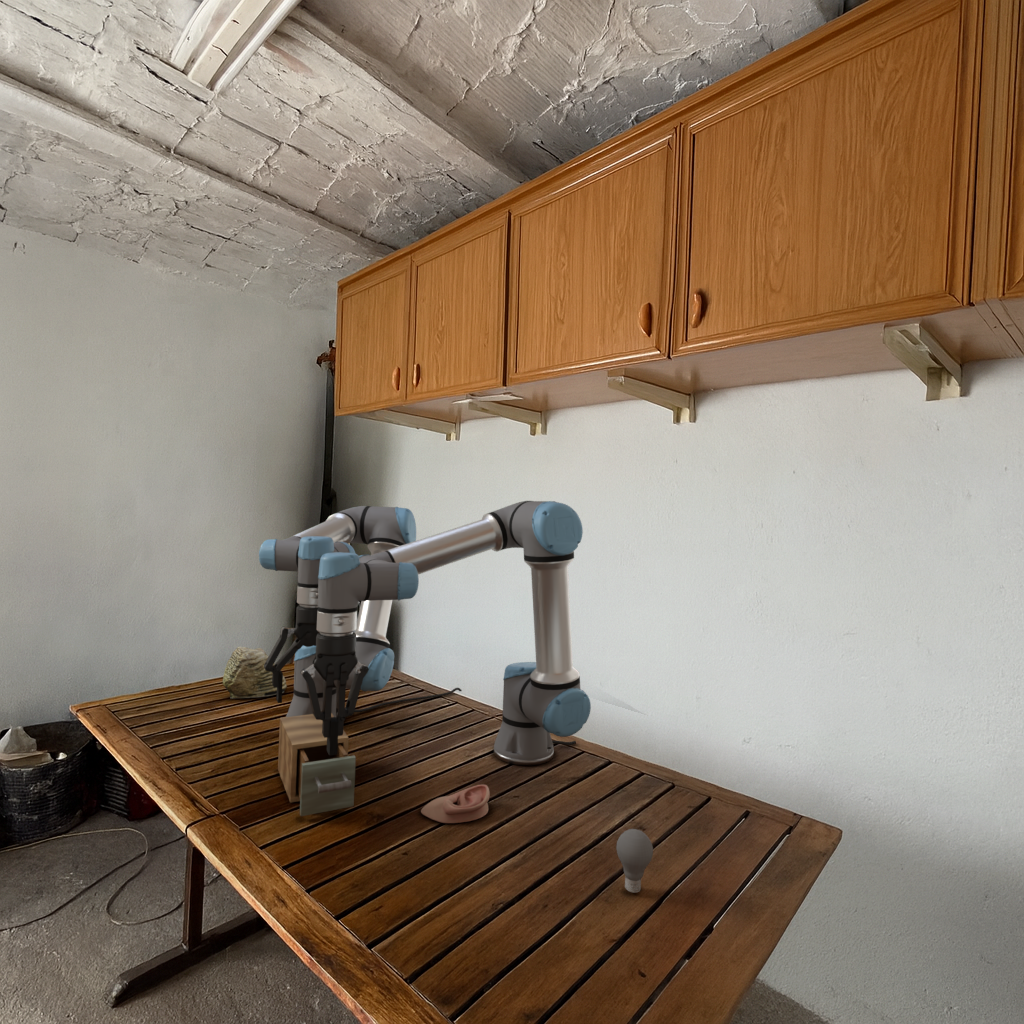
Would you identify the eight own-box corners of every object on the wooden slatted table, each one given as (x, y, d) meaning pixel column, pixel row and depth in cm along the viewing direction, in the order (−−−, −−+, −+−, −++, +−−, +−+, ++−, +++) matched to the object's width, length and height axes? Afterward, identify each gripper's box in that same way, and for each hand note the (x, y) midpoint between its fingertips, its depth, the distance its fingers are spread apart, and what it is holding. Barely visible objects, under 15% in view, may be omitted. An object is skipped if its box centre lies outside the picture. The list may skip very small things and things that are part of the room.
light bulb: (610, 879, 108) (613, 822, 108) (644, 879, 109) (647, 822, 109) (619, 902, 102) (622, 840, 102) (655, 901, 103) (658, 840, 103)
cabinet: (346, 792, 136) (348, 737, 136) (290, 802, 131) (292, 744, 130) (329, 761, 151) (331, 711, 151) (277, 769, 146) (279, 717, 145)
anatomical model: (416, 799, 126) (434, 775, 137) (415, 819, 126) (433, 793, 137) (480, 808, 123) (494, 783, 134) (479, 829, 123) (493, 802, 134)
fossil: (218, 695, 195) (220, 647, 195) (278, 685, 208) (279, 640, 207) (228, 703, 189) (230, 653, 188) (289, 692, 201) (290, 645, 201)
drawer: (361, 819, 123) (363, 768, 123) (306, 830, 118) (308, 777, 118) (336, 774, 142) (337, 730, 142) (287, 782, 137) (289, 736, 137)
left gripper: (257, 609, 134) (253, 709, 135) (372, 605, 146) (369, 696, 146) (253, 604, 141) (249, 698, 141) (364, 600, 153) (360, 687, 153)
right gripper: (305, 638, 117) (300, 765, 117) (374, 634, 123) (370, 754, 123) (298, 630, 123) (293, 750, 124) (364, 626, 130) (360, 740, 130)
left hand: (310, 697), depth 144 cm, fingers open, 13 cm apart
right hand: (331, 752), depth 124 cm, fingers closed
